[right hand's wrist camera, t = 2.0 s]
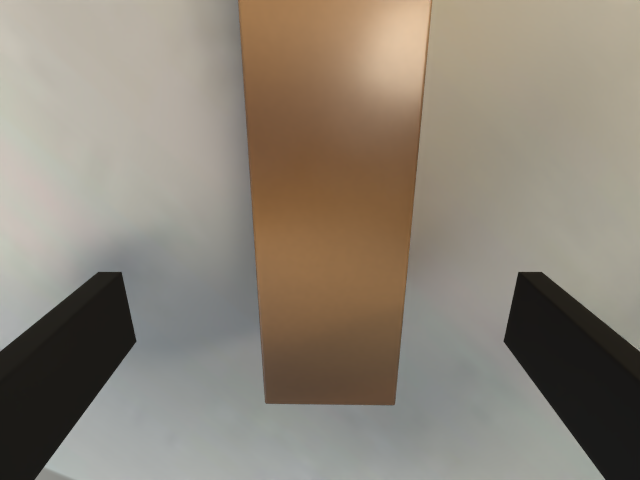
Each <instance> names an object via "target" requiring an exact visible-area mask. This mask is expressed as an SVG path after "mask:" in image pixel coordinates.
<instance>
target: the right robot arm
mask: <svg viewBox="0 0 640 480" xmlns="http://www.w3.org/2000/svg"><path fill="white" fill-rule="evenodd" d="M135 343H136V338H135V333H134V328H133V323H132V319H131V314H130V309H129V305H128V300H127V295H126V291H125V286H124V281H123V277H122V272H98V273H97V274H95V275H94V276H93V277H92V278H90V279H89V280H88V281H87V282H85V283H84V284H83V285H82V286H81V287H79V288H78V289H77V290H76V291H74V292H73V293H72V294H71V295H69V296H68V297H67V298H66V299H65V300H63V301H62V302H61V303H60V304H58V305H57V306H56V307H55V308H53V309H52V310H51V311H50V312H48V313H47V314H46V315H45V316H44V317H42V318H41V319H40V320H39V321H37V322H36V323H35V324H34V325H32V326H31V327H30V328H29V329H28V330H26V331H25V332H24V333H23V334H21V335H20V336H19V337H18V338H16V339H15V340H14V341H13V342H11V343H10V344H9V345H8V346H7V347H5V348H4V349H3V350H2V351H0V480H35V478H36V477H37V476H38V474H39V473H40V472H41V470H42V469H43V467H44V466H45V465H46V463H47V462H48V461H49V459H50V458H51V457H52V455H53V454H54V453H55V451H56V450H57V448H58V447H59V446H60V444H61V443H62V442H63V440H64V439H65V438H66V436H67V435H68V434H69V432H70V431H71V429H72V428H73V427H74V425H75V424H76V423H77V421H78V420H79V419H80V417H81V416H82V415H83V413H84V412H85V410H86V409H87V408H88V406H89V405H90V404H91V402H92V401H93V400H94V398H95V397H96V396H97V394H98V393H99V391H100V390H101V389H102V387H103V386H104V385H105V383H106V382H107V381H108V379H109V378H110V377H111V375H112V374H113V372H114V371H115V370H116V368H117V367H118V366H119V364H120V363H121V362H122V360H123V359H124V358H125V356H126V355H127V353H128V352H129V351H130V349H131V348H132V347H133V345H134V344H135ZM504 343H505V344H506V345H507V347H508V348H509V349H510V351H511V352H512V353H513V355H514V356H515V358H516V359H517V360H518V362H519V363H520V364H521V366H522V367H523V368H524V370H525V371H526V372H527V374H528V375H529V377H530V378H531V379H532V381H533V382H534V383H535V385H536V386H537V387H538V389H539V390H540V391H541V393H542V394H543V396H544V397H545V398H546V400H547V401H548V402H549V404H550V405H551V406H552V408H553V409H554V410H555V412H556V413H557V415H558V416H559V417H560V419H561V420H562V421H563V423H564V424H565V425H566V427H567V428H568V429H569V431H570V432H571V434H572V435H573V436H574V438H575V439H576V440H577V442H578V443H579V444H580V446H581V447H582V448H583V450H584V451H585V453H586V454H587V455H588V457H589V458H590V459H591V461H592V462H593V463H594V465H595V466H596V467H597V469H598V470H599V472H600V473H601V474H602V476H603V477H604V478H605V480H640V351H638V350H637V349H636V348H635V347H633V346H632V345H631V344H630V343H628V342H627V341H626V340H625V339H624V338H622V337H621V336H620V335H619V334H617V333H616V332H615V331H614V330H612V329H611V328H610V327H609V326H608V325H606V324H605V323H604V322H603V321H601V320H600V319H599V318H598V317H596V316H595V315H594V314H593V313H592V312H590V311H589V310H588V309H587V308H585V307H584V306H583V305H582V304H580V303H579V302H578V301H577V300H575V299H574V298H573V297H572V296H571V295H569V294H568V293H567V292H566V291H564V290H563V289H562V288H561V287H559V286H558V285H557V284H556V283H555V282H553V281H552V280H551V279H550V278H548V277H547V276H546V275H545V274H543V273H542V272H518V277H517V281H516V286H515V291H514V295H513V300H512V305H511V309H510V314H509V319H508V323H507V328H506V333H505V338H504Z"/></svg>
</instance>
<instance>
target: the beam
mask: <svg viewBox="0 0 640 480" xmlns="http://www.w3.org/2000/svg"><path fill="white" fill-rule="evenodd" d="M238 7H239V21H240V36H241V51H242V66H243V81H244V96H245V111H246V126H247V141H248V156H249V170H250V185H251V200H252V215H253V230H254V245H255V260H256V275H257V290H258V305H259V320H260V334H261V349H262V364H263V379H264V394H265V403H266V404H331V405H395V399H396V388H397V377H398V366H399V355H400V345H401V334H402V323H403V312H404V301H405V290H406V279H407V269H408V258H409V247H410V236H411V225H412V214H413V203H414V192H415V182H416V171H417V160H418V149H419V138H420V127H421V116H422V106H423V95H424V84H425V73H426V62H427V51H428V40H429V30H430V19H431V8H432V0H238Z"/></svg>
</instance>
